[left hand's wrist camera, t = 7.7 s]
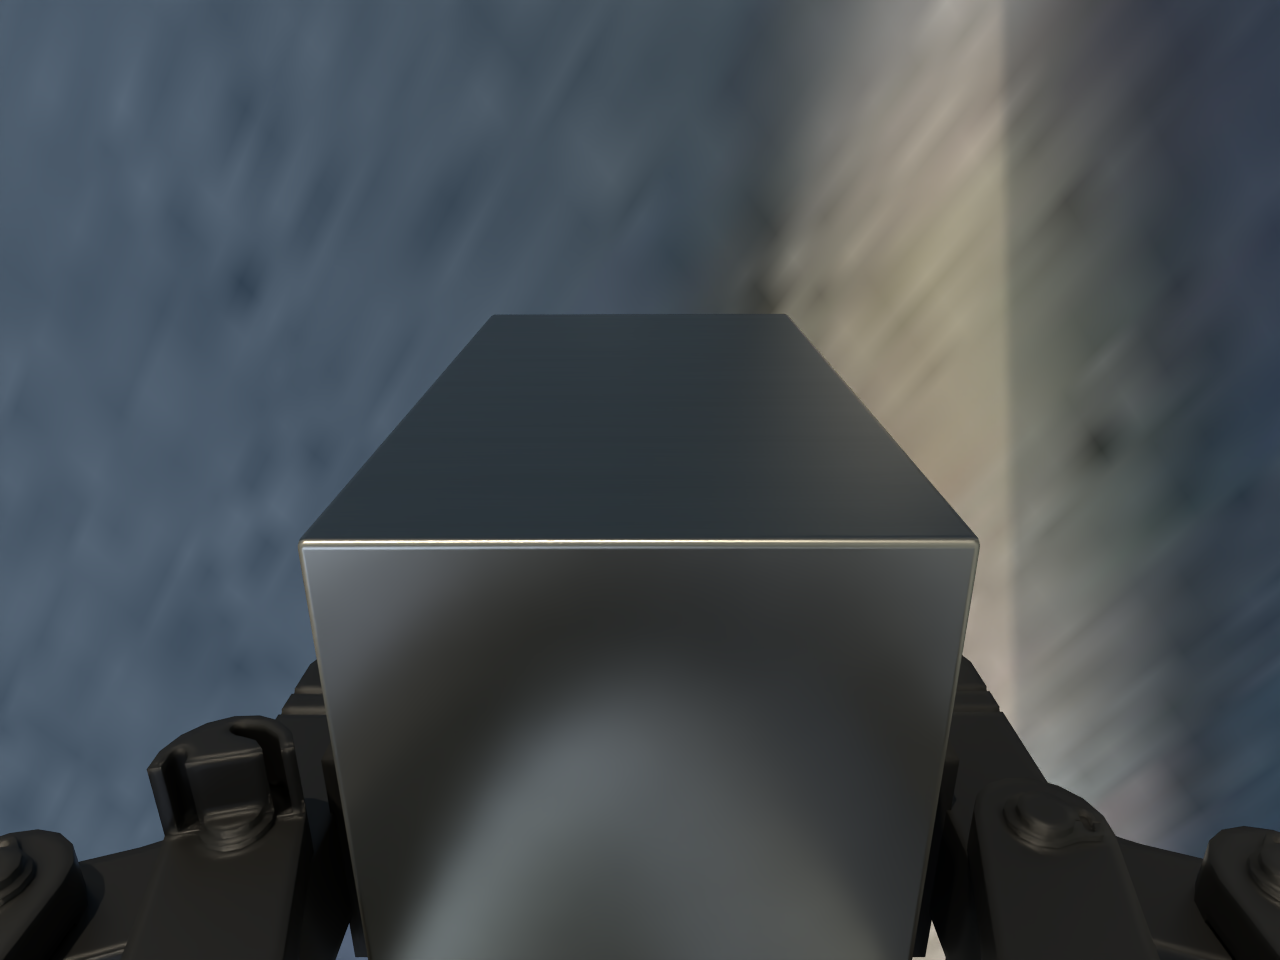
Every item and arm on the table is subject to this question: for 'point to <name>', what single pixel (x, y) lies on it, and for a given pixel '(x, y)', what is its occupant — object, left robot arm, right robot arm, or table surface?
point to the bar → (639, 652)
